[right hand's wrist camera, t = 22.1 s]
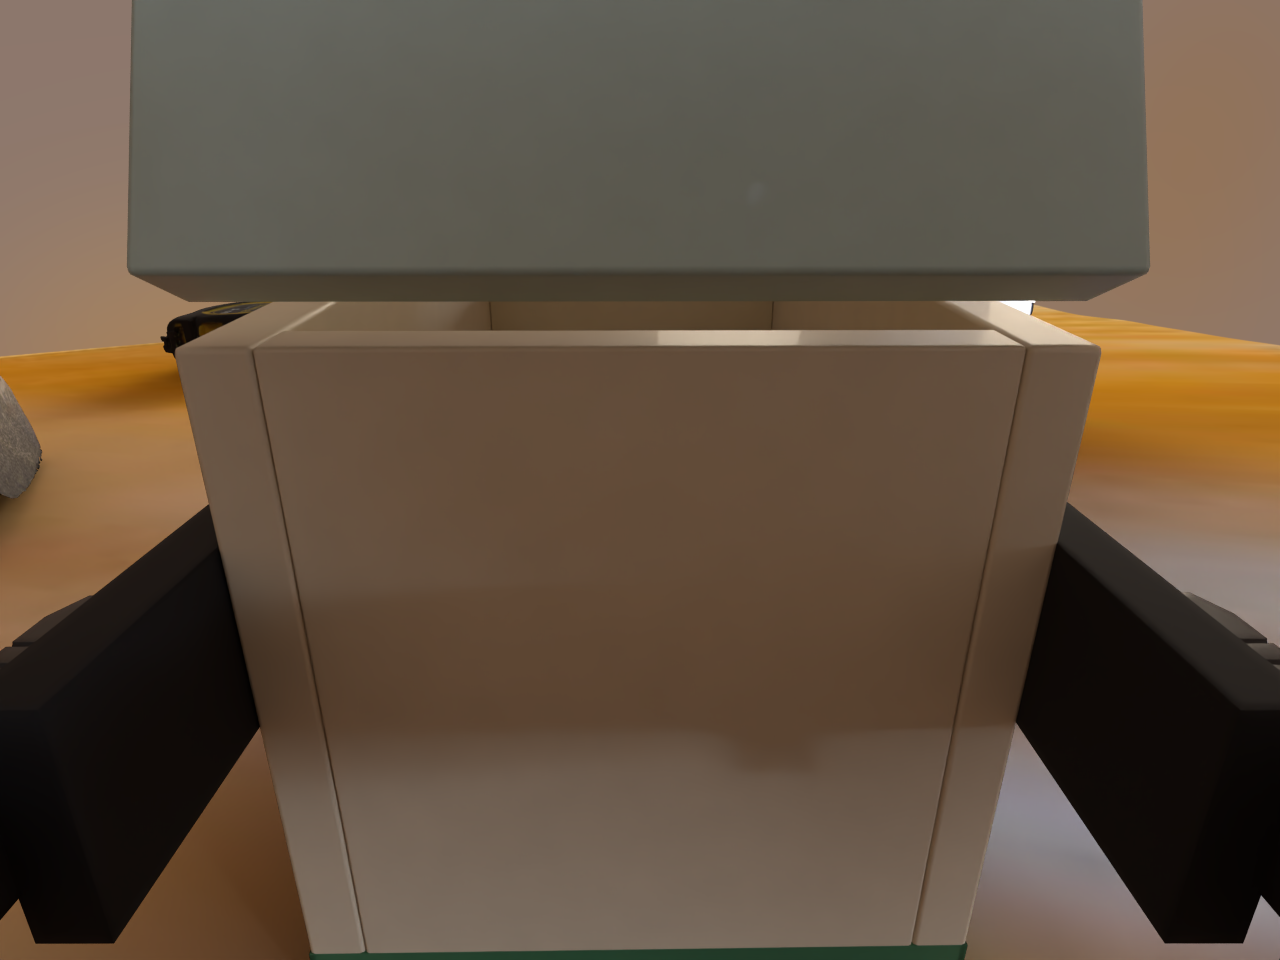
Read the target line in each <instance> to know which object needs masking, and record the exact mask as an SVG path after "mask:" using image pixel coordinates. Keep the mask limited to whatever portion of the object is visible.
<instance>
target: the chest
mask: <svg viewBox="0 0 1280 960" xmlns="http://www.w3.org/2000/svg"><path fill="white" fill-rule="evenodd" d="M1100 356H1101V348H1100V346H1098V345H1095V344H1093V343H1091V342H1089V341H1086V340H1084V339H1082V338H1080V337H1078V336H1075V335H1073V334H1071V333H1069V332H1066V331H1064V330H1062V329H1060V328H1058V327H1055V326H1053V325H1051V324H1049V323H1046V322H1044V321H1042V320H1040V319H1037V318H1035V317H1033V316H1031V315H1029V314H1026V313H1024V312H1022V311H1020V310H1017V309H1015V308H1013V307H1011V306H1009V305H1006V304H1004V303H1002V302H1000V301H533V302H272V303H270V304H268V305H266V306H263V307H261V308H259V309H257V310H255V311H253V312H251V313H249V314H247V315H245V316H243V317H240V318H238V319H236V320H234V321H232V322H230V323H228V324H226V325H224V326H222V327H220V328H217V329H215V330H213V331H211V332H209V333H207V334H205V335H203V336H201V337H199V338H197V339H195V340H192V341H190V342H188V343H186V344H184V345H182V346H180V347H178V348H176V350H175V358H176V362H177V366H178V371H179V375H180V379H181V384H182V388H183V393H184V397H185V401H186V406H187V410H188V414H189V419H190V423H191V428H192V432H193V436H194V441H195V445H196V449H197V454H198V458H199V463H200V467H201V471H202V476H203V480H204V484H205V489H206V493H207V497H208V502H209V506H210V511H211V515H212V519H213V524H214V528H215V532H216V537H217V541H218V546H219V550H220V554H221V559H222V563H223V567H224V572H225V576H226V580H227V585H228V589H229V594H230V598H231V602H232V607H233V611H234V615H235V620H236V624H237V629H238V633H239V637H240V642H241V646H242V650H243V655H244V659H245V664H246V668H247V672H248V677H249V681H250V685H251V690H252V694H253V698H254V703H255V707H256V712H257V716H258V720H259V725H260V729H261V733H262V738H263V742H264V747H265V751H266V755H267V760H268V764H269V768H270V773H271V777H272V781H273V786H274V790H275V795H276V799H277V803H278V808H279V812H280V816H281V821H282V825H283V830H284V834H285V838H286V843H287V847H288V851H289V856H290V860H291V865H292V869H293V873H294V878H295V882H296V886H297V891H298V895H299V899H300V904H301V908H302V913H303V917H304V921H305V926H306V930H307V934H308V939H309V943H310V948H311V951H310V953H309V957H310V960H964V958H965V954H966V950H967V943H966V936H967V932H968V928H969V923H970V919H971V915H972V910H973V906H974V902H975V897H976V893H977V889H978V884H979V880H980V876H981V871H982V867H983V863H984V858H985V854H986V850H987V845H988V841H989V837H990V832H991V828H992V824H993V819H994V815H995V811H996V806H997V802H998V798H999V793H1000V789H1001V785H1002V780H1003V776H1004V772H1005V767H1006V763H1007V759H1008V755H1009V750H1010V746H1011V742H1012V737H1013V733H1014V729H1015V724H1016V719H1017V714H1018V710H1019V706H1020V701H1021V697H1022V693H1023V688H1024V684H1025V680H1026V675H1027V671H1028V666H1029V662H1030V658H1031V653H1032V649H1033V645H1034V640H1035V636H1036V632H1037V627H1038V623H1039V618H1040V614H1041V610H1042V605H1043V601H1044V597H1045V592H1046V588H1047V583H1048V579H1049V575H1050V570H1051V566H1052V562H1053V557H1054V553H1055V549H1056V544H1057V543H1058V538H1059V534H1060V530H1061V525H1062V521H1063V517H1064V512H1065V508H1066V504H1067V499H1068V495H1069V491H1070V486H1071V482H1072V478H1073V473H1074V469H1075V465H1076V460H1077V456H1078V452H1079V447H1080V443H1081V439H1082V434H1083V430H1084V426H1085V421H1086V417H1087V413H1088V408H1089V404H1090V400H1091V395H1092V391H1093V387H1094V382H1095V378H1096V374H1097V369H1098V365H1099V361H1100Z"/></svg>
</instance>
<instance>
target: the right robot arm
mask: <svg viewBox="0 0 1280 960" xmlns="http://www.w3.org/2000/svg"><path fill="white" fill-rule="evenodd" d="M1016 723H1017V725H1018V726H1019V728H1020V729H1021V731H1022V732H1023V733H1024V735H1025V736H1026V738H1027V739H1028V741H1029V742H1030V744H1031V745H1032V747H1033V748H1034V750H1035V751H1036V753H1037V754H1038V756H1039V757H1040V759H1041V760H1042V762H1043V763H1044V765H1045V766H1046V768H1047V769H1048V771H1049V772H1050V774H1051V775H1052V777H1053V778H1054V780H1055V781H1056V782H1057V784H1058V785H1059V787H1060V788H1061V790H1062V791H1063V793H1064V794H1065V796H1066V797H1067V799H1068V800H1069V802H1070V803H1071V805H1072V806H1073V808H1074V809H1075V811H1076V812H1077V814H1078V815H1079V817H1080V818H1081V820H1082V821H1083V823H1084V824H1085V826H1086V827H1087V829H1088V830H1089V831H1090V833H1091V834H1092V836H1093V837H1094V839H1095V840H1096V842H1097V843H1098V845H1099V846H1100V848H1101V849H1102V851H1103V852H1104V854H1105V855H1106V857H1107V858H1108V860H1109V861H1110V863H1111V864H1112V866H1113V867H1114V869H1115V870H1116V872H1117V873H1118V875H1119V876H1120V878H1121V879H1122V881H1123V882H1124V883H1125V885H1126V886H1127V888H1128V889H1129V891H1130V892H1131V894H1132V895H1133V897H1134V898H1135V900H1136V901H1137V903H1138V904H1139V906H1140V907H1141V909H1142V910H1143V912H1144V913H1145V915H1146V916H1147V918H1148V919H1149V921H1150V922H1151V924H1152V925H1153V927H1154V928H1155V930H1156V931H1157V932H1158V934H1159V935H1160V937H1161V938H1162V940H1163V941H1164V943H1243V942H1244V939H1245V937H1246V934H1247V931H1248V929H1249V926H1250V923H1251V921H1252V918H1253V915H1254V913H1255V910H1256V907H1257V905H1258V902H1259V899H1260V897H1261V895H1262V897H1263V898H1264V899H1265V900H1266V901H1267V902H1268V904H1269V905H1270V906H1271V907H1272V908H1273V910H1274V911H1275V912H1276V913H1277V914H1278V915H1279V917H1280V648H1279V647H1277V646H1276V645H1275V644H1268V643H1267V638H1266V637H1264V636H1263V635H1262V634H1260V633H1259V632H1258V631H1256V630H1255V629H1254V628H1252V627H1251V626H1250V625H1248V624H1247V623H1246V622H1244V621H1243V620H1242V619H1240V618H1239V617H1238V616H1236V615H1235V614H1234V613H1232V612H1229V611H1227V610H1225V609H1223V608H1221V607H1219V606H1217V605H1215V604H1213V603H1211V602H1209V601H1206V600H1204V599H1202V598H1200V597H1198V596H1196V595H1194V594H1192V593H1181V592H1180V591H1179V590H1178V589H1176V588H1175V587H1174V586H1173V585H1171V584H1170V583H1169V582H1168V581H1166V580H1165V579H1164V578H1162V577H1161V576H1160V575H1159V574H1157V573H1156V572H1155V571H1154V570H1152V569H1151V568H1150V567H1149V566H1147V565H1146V564H1145V563H1144V562H1142V561H1141V560H1140V559H1138V558H1137V557H1136V556H1135V555H1133V554H1132V553H1131V552H1130V551H1128V550H1127V549H1126V548H1125V547H1123V546H1122V545H1121V544H1119V543H1118V542H1117V541H1116V540H1114V539H1113V538H1112V537H1111V536H1109V535H1108V534H1107V533H1106V532H1104V531H1103V530H1102V529H1101V528H1099V527H1098V526H1097V525H1095V524H1094V523H1093V522H1092V521H1090V520H1089V519H1088V518H1087V517H1085V516H1084V515H1083V514H1082V513H1080V512H1079V511H1078V510H1076V509H1075V508H1074V507H1073V506H1071V505H1070V504H1069V503H1068V502H1067V504H1066V508H1065V512H1064V517H1063V521H1062V525H1061V530H1060V534H1059V538H1058V543H1057V544H1056V549H1055V553H1054V557H1053V562H1052V566H1051V570H1050V575H1049V579H1048V583H1047V588H1046V592H1045V597H1044V601H1043V605H1042V610H1041V614H1040V618H1039V623H1038V627H1037V632H1036V636H1035V640H1034V645H1033V649H1032V653H1031V658H1030V662H1029V666H1028V671H1027V675H1026V680H1025V684H1024V688H1023V693H1022V697H1021V701H1020V706H1019V710H1018V714H1017V719H1016ZM259 727H260V725H259V720H258V716H257V712H256V707H255V703H254V698H253V694H252V690H251V685H250V681H249V677H248V672H247V668H246V664H245V659H244V655H243V650H242V646H241V642H240V637H239V633H238V629H237V624H236V620H235V615H234V611H233V607H232V602H231V598H230V594H229V589H228V585H227V580H226V576H225V572H224V567H223V563H222V559H221V554H220V550H219V546H218V541H217V537H216V532H215V528H214V524H213V519H212V515H211V511H210V506H209V505H207V506H206V507H205V508H203V509H202V510H201V511H200V512H198V513H197V514H196V515H195V516H193V517H192V518H191V519H190V520H188V521H187V522H186V523H184V524H183V525H182V526H181V527H179V528H178V529H177V530H176V531H174V532H173V533H172V534H171V535H169V536H168V537H167V538H166V539H164V540H163V541H162V542H160V543H159V544H158V545H157V546H155V547H154V548H153V549H152V550H150V551H149V552H148V553H147V554H145V555H144V556H143V557H141V558H140V559H139V560H138V561H136V562H135V563H134V564H133V565H131V566H130V567H129V568H128V569H126V570H125V571H124V572H123V573H121V574H120V575H119V576H117V577H116V578H115V579H114V580H112V581H111V582H110V583H109V584H107V585H106V586H105V587H104V588H102V589H101V590H100V591H98V592H97V593H96V594H95V595H93V596H88V597H86V598H83V599H81V600H79V601H77V602H75V603H73V604H71V605H69V606H67V607H65V608H63V609H61V610H59V611H56V612H54V613H52V614H50V615H48V616H46V617H44V618H43V619H42V620H41V621H39V622H38V623H37V624H35V625H34V626H33V627H31V628H30V629H29V630H27V631H26V632H25V633H23V634H22V635H21V636H20V637H18V638H17V639H16V640H14V641H13V645H12V647H5V648H4V649H2V650H1V651H0V920H1V919H2V918H3V916H4V915H5V914H6V913H7V912H8V910H9V909H10V908H11V907H12V906H13V905H14V903H15V902H16V901H17V900H18V899H19V901H20V903H21V906H22V909H23V911H24V914H25V917H26V919H27V922H28V925H29V927H30V930H31V933H32V935H33V938H34V941H35V943H36V944H90V943H115V941H116V940H117V938H118V937H119V935H120V934H121V932H122V931H123V929H124V928H125V926H126V925H127V923H128V922H129V920H130V919H131V917H132V916H133V914H134V913H135V911H136V910H137V908H138V907H139V905H140V904H141V902H142V901H143V899H144V898H145V897H146V895H147V894H148V892H149V891H150V889H151V888H152V886H153V885H154V883H155V882H156V880H157V879H158V877H159V876H160V874H161V873H162V871H163V870H164V868H165V867H166V865H167V864H168V862H169V861H170V859H171V858H172V856H173V855H174V853H175V852H176V850H177V849H178V848H179V846H180V845H181V843H182V842H183V840H184V839H185V837H186V836H187V834H188V833H189V831H190V830H191V828H192V827H193V825H194V824H195V822H196V821H197V819H198V818H199V816H200V815H201V813H202V812H203V810H204V809H205V807H206V806H207V804H208V803H209V801H210V800H211V799H212V797H213V796H214V794H215V793H216V791H217V790H218V788H219V787H220V785H221V784H222V782H223V781H224V779H225V778H226V776H227V775H228V773H229V772H230V770H231V769H232V767H233V766H234V764H235V763H236V761H237V760H238V758H239V757H240V755H241V754H242V752H243V751H244V750H245V748H246V747H247V745H248V744H249V742H250V741H251V739H252V738H253V736H254V735H255V733H256V732H257V730H258V729H259ZM1279 960H1280V959H1279Z"/></svg>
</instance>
